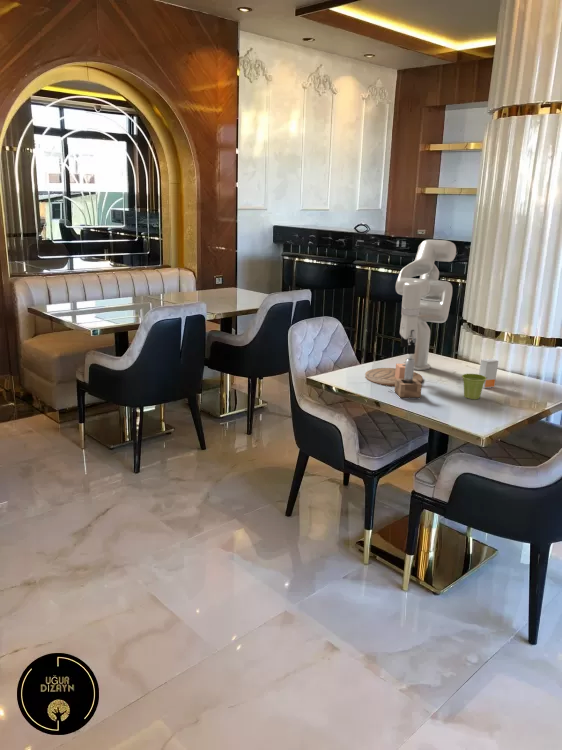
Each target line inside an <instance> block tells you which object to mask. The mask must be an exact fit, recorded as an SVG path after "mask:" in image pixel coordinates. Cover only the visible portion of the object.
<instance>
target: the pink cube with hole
mask: <svg viewBox="0 0 562 750" xmlns="http://www.w3.org/2000/svg"><path fill="white" fill-rule="evenodd" d="M395 368H396V371H395V377H396V378H397V379H404V376H405V364H403V363H396V364H395Z"/></svg>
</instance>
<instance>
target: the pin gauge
mask: <svg viewBox="0 0 562 750" xmlns="http://www.w3.org/2000/svg"><path fill="white" fill-rule="evenodd" d="M414 361H415V360H414V359H407V358H406V359H405V362H406V364H405V376H404V383H413V372H415V370H414Z"/></svg>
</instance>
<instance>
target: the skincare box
mask: <svg viewBox="0 0 562 750" xmlns="http://www.w3.org/2000/svg"><path fill="white" fill-rule="evenodd" d="M498 365H499V360H498V359H495V358H493V357H492V358H484V359H483V358H481V359H480V365H479V372H478V375H482V376H485V377H486V380H485V382H484V384H483V388H482V389H490V388H491V387H494V388H495V385H496V380H497V372H498ZM491 389H492V388H491Z"/></svg>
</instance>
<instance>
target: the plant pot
mask: <svg viewBox="0 0 562 750" xmlns="http://www.w3.org/2000/svg"><path fill="white" fill-rule="evenodd" d="M461 378H462V381H463V397H465V399H470V400H479V399H480V398H481V394H482V390H483V389H484V388H483V384H484V382H485V380H486V377H485V376H482V375H479V373H478V374H477V373H463V374H461Z"/></svg>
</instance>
